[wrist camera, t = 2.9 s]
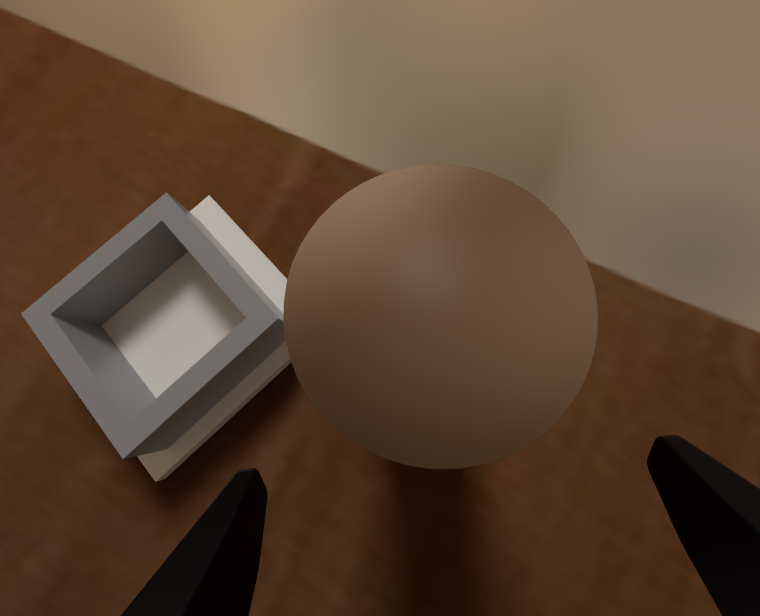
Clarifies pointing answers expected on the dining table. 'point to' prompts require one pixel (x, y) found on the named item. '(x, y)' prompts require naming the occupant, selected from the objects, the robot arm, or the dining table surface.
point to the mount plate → (167, 330)
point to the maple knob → (440, 316)
